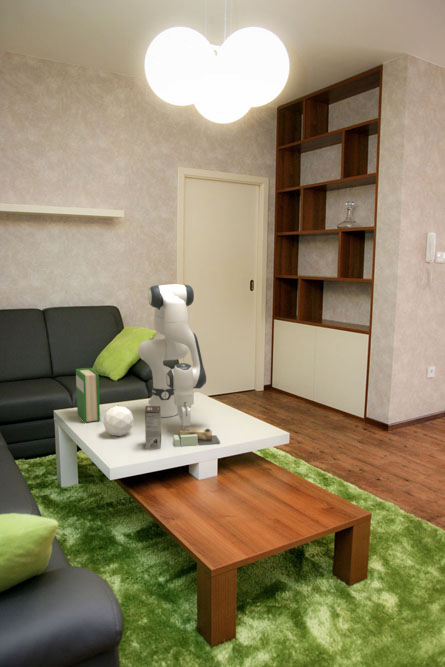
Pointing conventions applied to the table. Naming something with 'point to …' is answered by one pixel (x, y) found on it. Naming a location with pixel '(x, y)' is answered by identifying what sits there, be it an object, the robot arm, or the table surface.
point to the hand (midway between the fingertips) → (184, 430)
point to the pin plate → (209, 441)
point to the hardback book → (88, 394)
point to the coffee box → (153, 427)
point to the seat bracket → (185, 440)
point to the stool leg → (198, 433)
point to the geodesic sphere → (118, 420)
